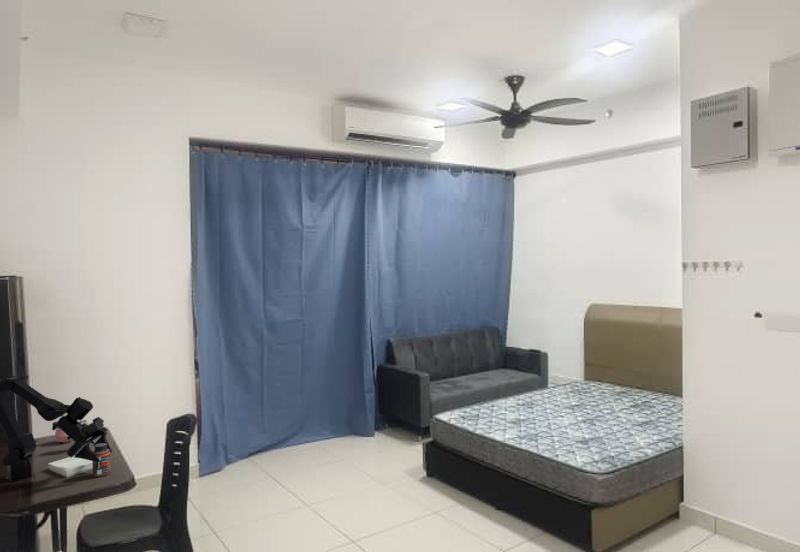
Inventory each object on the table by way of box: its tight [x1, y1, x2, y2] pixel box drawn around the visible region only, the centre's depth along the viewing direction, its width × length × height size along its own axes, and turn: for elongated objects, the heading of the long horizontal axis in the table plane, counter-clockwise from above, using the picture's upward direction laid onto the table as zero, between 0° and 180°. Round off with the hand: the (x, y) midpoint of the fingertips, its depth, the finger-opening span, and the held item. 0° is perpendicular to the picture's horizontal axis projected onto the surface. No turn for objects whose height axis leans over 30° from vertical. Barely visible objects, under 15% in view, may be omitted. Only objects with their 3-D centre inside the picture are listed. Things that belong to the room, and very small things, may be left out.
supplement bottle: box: [92, 443, 112, 478], centre depth 204 cm, size 6×6×11 cm
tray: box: [48, 456, 93, 478], centre depth 212 cm, size 15×15×2 cm
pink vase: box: [54, 414, 72, 444], centre depth 243 cm, size 8×8×12 cm
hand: (104, 456), depth 204 cm, fingers open, 9 cm apart
